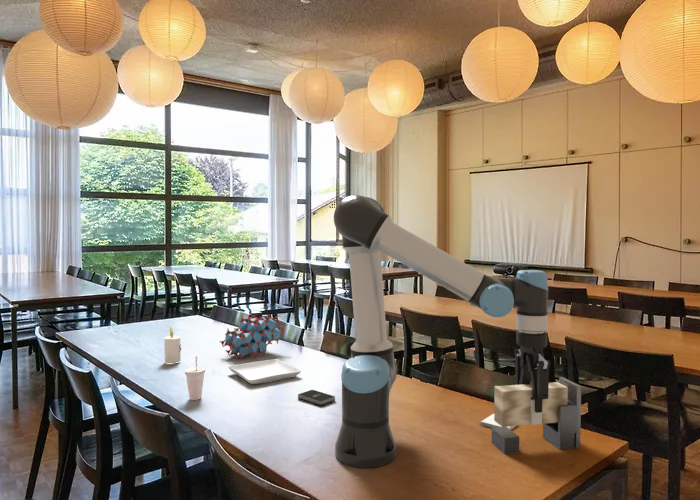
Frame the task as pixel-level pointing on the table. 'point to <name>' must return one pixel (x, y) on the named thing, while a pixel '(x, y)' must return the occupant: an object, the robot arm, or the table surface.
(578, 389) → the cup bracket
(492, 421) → the external hard drive
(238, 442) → the table surface
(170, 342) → the candle
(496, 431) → the block
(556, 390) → the rail
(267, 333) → the molecule model
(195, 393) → the smoothie
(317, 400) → the external hard drive
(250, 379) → the salad plate
